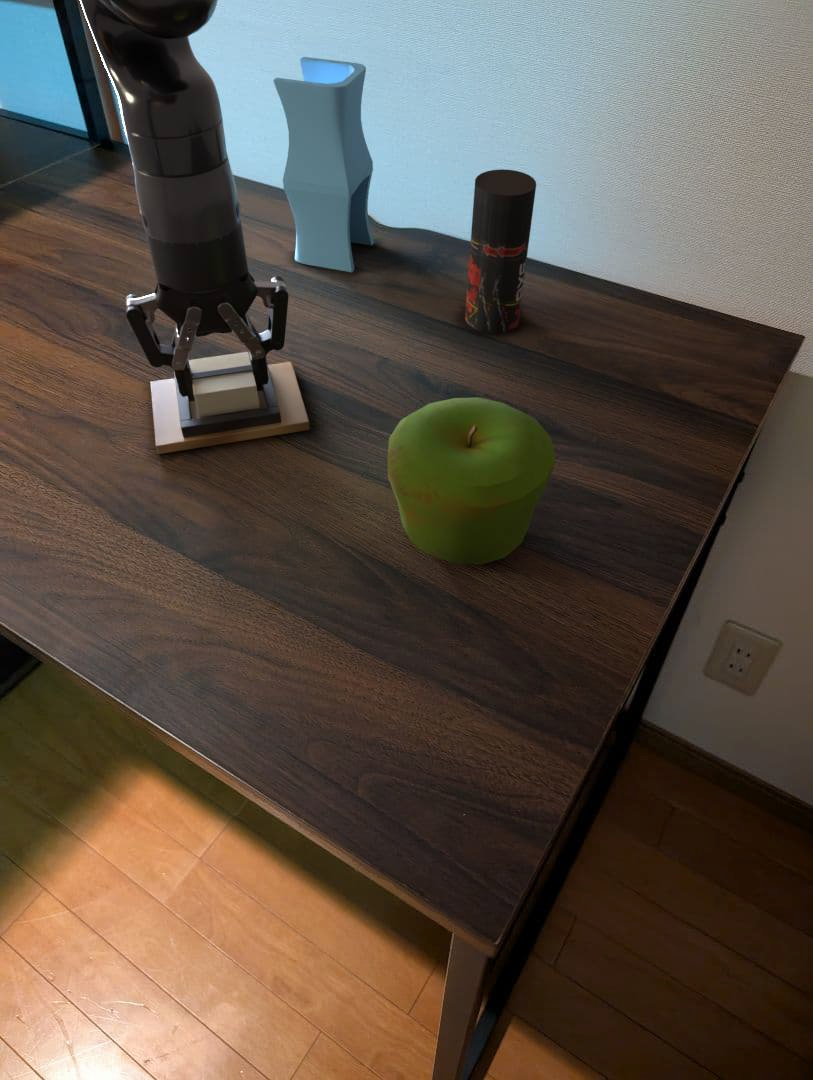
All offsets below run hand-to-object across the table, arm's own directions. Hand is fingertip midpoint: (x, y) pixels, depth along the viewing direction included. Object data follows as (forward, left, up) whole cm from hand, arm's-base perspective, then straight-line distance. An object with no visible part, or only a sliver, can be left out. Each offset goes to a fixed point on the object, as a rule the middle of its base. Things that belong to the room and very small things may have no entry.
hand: (225, 390), depth 75 cm
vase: (+16, +28, -2) cm, 32 cm away
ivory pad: (0, 0, -1) cm, 1 cm away
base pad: (0, 0, -2) cm, 2 cm away
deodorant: (+30, +9, -2) cm, 31 cm away
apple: (+17, -21, -2) cm, 27 cm away
